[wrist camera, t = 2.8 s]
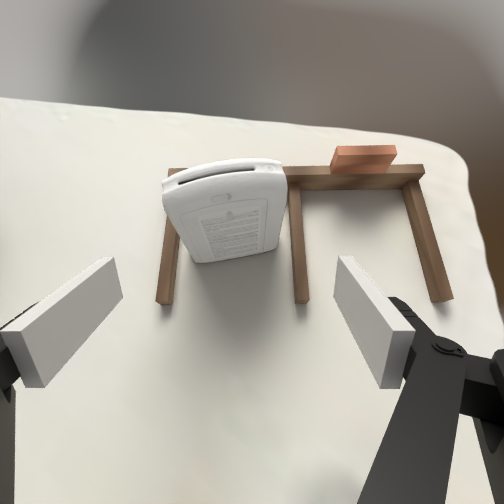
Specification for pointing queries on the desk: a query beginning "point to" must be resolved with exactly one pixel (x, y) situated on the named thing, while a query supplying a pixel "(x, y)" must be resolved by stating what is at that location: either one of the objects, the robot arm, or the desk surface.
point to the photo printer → (227, 207)
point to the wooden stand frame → (338, 178)
